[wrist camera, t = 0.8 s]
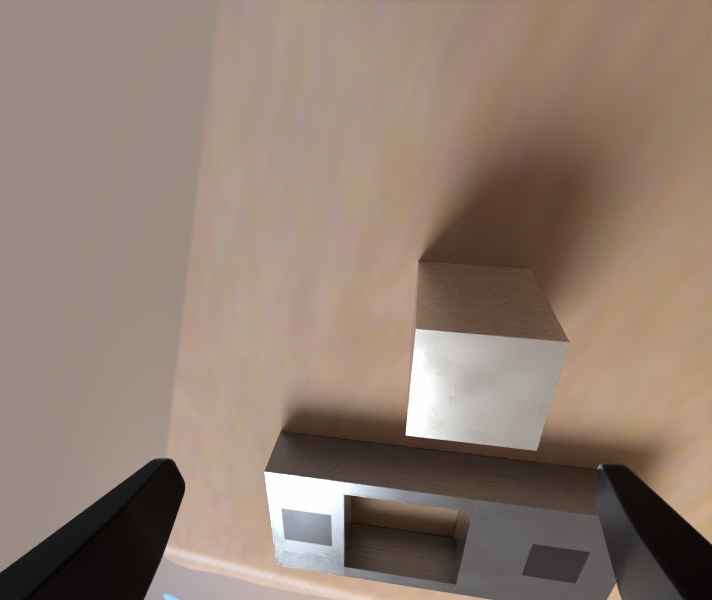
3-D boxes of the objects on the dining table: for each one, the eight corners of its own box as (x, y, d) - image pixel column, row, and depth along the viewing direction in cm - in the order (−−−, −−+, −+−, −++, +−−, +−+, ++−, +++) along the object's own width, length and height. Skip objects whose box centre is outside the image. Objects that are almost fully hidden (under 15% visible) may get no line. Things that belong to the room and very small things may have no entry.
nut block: (530, 268, 19) (569, 342, 14) (509, 358, 21) (536, 450, 16) (418, 260, 20) (415, 328, 14) (410, 349, 22) (406, 435, 17)
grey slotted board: (624, 473, 24) (648, 522, 21) (581, 565, 28) (597, 616, 25) (280, 431, 26) (264, 471, 24) (289, 522, 30) (276, 565, 28)
